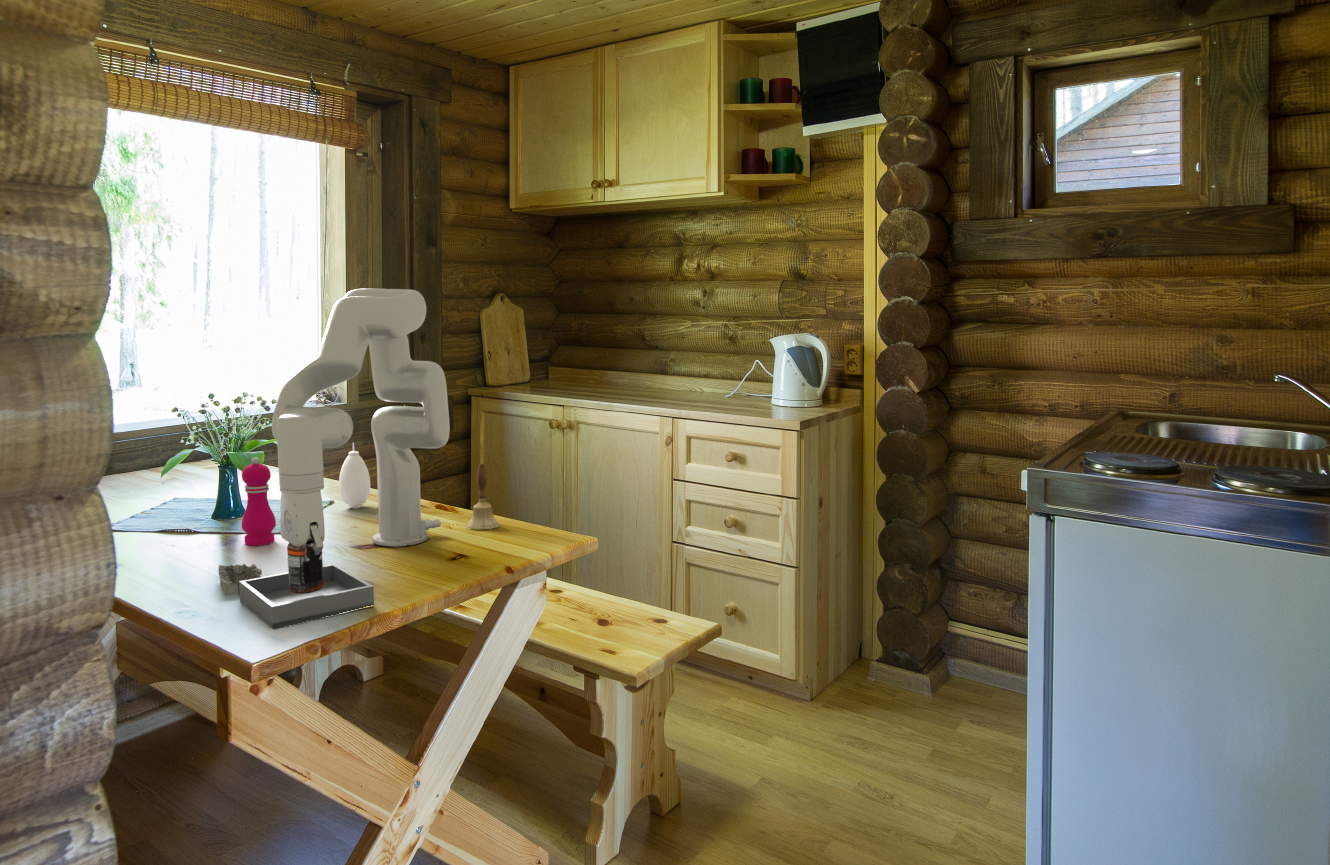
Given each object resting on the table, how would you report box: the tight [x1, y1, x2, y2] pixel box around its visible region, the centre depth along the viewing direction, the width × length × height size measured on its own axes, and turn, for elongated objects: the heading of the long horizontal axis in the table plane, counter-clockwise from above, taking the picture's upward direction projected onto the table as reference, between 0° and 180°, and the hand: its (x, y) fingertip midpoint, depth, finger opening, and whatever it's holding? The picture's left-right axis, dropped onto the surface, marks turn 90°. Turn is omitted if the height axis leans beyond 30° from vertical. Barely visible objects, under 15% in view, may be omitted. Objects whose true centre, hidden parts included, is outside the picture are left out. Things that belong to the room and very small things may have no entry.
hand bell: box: [465, 462, 501, 530], centre depth 223 cm, size 8×8×16 cm
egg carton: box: [218, 563, 263, 595], centre depth 175 cm, size 11×8×4 cm
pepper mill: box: [241, 456, 277, 547], centre depth 205 cm, size 7×7×20 cm
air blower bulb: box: [338, 441, 371, 509], centre depth 240 cm, size 8×8×18 cm
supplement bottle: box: [286, 541, 324, 594], centre depth 164 cm, size 6×6×11 cm
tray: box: [239, 563, 375, 630], centre depth 165 cm, size 18×18×4 cm
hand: (306, 576), depth 165 cm, fingers closed on supplement bottle, 6 cm apart
